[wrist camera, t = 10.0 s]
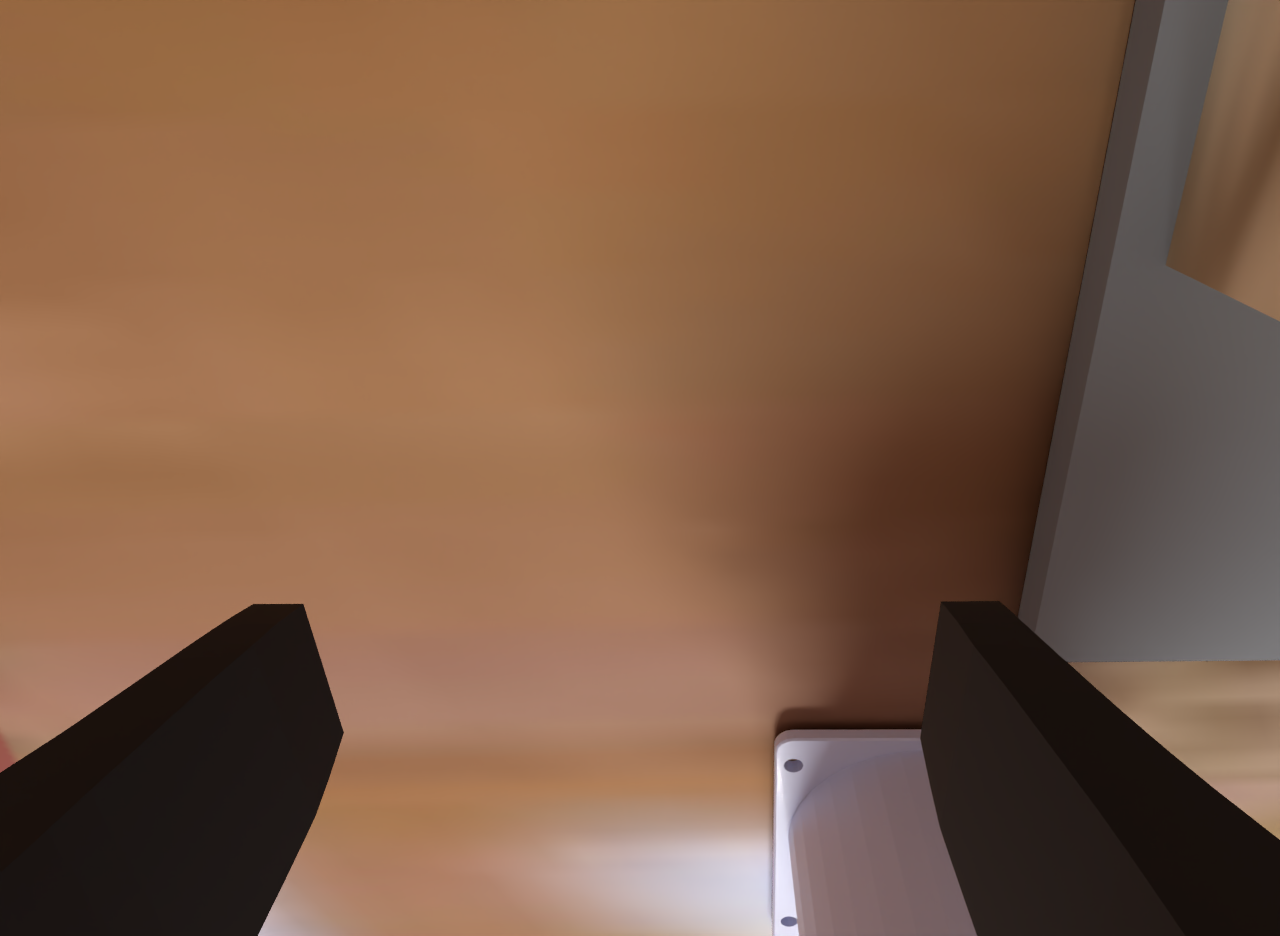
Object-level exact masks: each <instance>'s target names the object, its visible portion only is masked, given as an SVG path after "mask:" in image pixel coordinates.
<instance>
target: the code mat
mask: <svg viewBox="0 0 1280 936" xmlns="http://www.w3.org/2000/svg"><path fill="white" fill-rule="evenodd" d="M1227 4H1228V0H1136V2H1135V7H1134V12H1133V17H1132V23H1131V28H1130V33H1129V38H1128V44H1127V49H1126V54H1125V59H1124V64H1123V70H1122V75H1121V80H1120V85H1119V91H1118V96H1117V101H1116V106H1115V112H1114V117H1113V122H1112V127H1111V133H1110V138H1109V143H1108V148H1107V153H1106V159H1105V164H1104V169H1103V174H1102V180H1101V185H1100V190H1099V195H1098V201H1097V206H1096V211H1095V216H1094V222H1093V227H1092V232H1091V237H1090V242H1089V248H1088V253H1087V258H1086V263H1085V269H1084V274H1083V279H1082V284H1081V290H1080V295H1079V300H1078V305H1077V311H1076V316H1075V321H1074V326H1073V331H1072V337H1071V342H1070V347H1069V352H1068V358H1067V363H1066V368H1065V373H1064V379H1063V384H1062V389H1061V394H1060V400H1059V405H1058V410H1057V415H1056V420H1055V426H1054V431H1053V436H1052V441H1051V447H1050V452H1049V457H1048V462H1047V468H1046V473H1045V478H1044V483H1043V489H1042V494H1041V499H1040V504H1039V509H1038V515H1037V520H1036V525H1035V530H1034V536H1033V541H1032V546H1031V551H1030V557H1029V562H1028V567H1027V572H1026V578H1025V583H1024V588H1023V593H1022V598H1021V604H1020V609H1019V614H1018V618H1019V619H1020V620H1021V621H1022V622H1023V623H1024V624H1025V625H1027V626H1028V627H1029V628H1030V629H1031V630H1032V631H1033V632H1034V633H1035V634H1036V635H1038V636H1039V637H1040V638H1041V639H1042V640H1043V641H1044V642H1045V643H1046V644H1047V645H1049V646H1050V647H1051V648H1052V649H1053V650H1054V651H1055V652H1056V653H1057V654H1058V655H1060V656H1061V657H1062V658H1063V659H1064V660H1065V661H1066V662H1142V661H1243V660H1280V321H1278V320H1276V319H1274V318H1272V317H1270V316H1268V315H1266V314H1264V313H1262V312H1260V311H1258V310H1255V309H1253V308H1251V307H1249V306H1247V305H1245V304H1243V303H1241V302H1239V301H1237V300H1235V299H1233V298H1231V297H1229V296H1227V295H1225V294H1223V293H1221V292H1219V291H1217V290H1215V289H1213V288H1211V287H1209V286H1207V285H1205V284H1203V283H1201V282H1199V281H1197V280H1195V279H1193V278H1190V277H1188V276H1186V275H1184V274H1182V273H1180V272H1178V271H1176V270H1174V269H1172V268H1170V267H1168V266H1166V261H1167V257H1168V253H1169V249H1170V245H1171V240H1172V236H1173V232H1174V228H1175V223H1176V219H1177V215H1178V211H1179V207H1180V202H1181V198H1182V194H1183V190H1184V186H1185V181H1186V177H1187V173H1188V169H1189V164H1190V160H1191V156H1192V152H1193V148H1194V143H1195V139H1196V135H1197V131H1198V127H1199V122H1200V118H1201V114H1202V110H1203V105H1204V101H1205V97H1206V93H1207V89H1208V84H1209V80H1210V76H1211V72H1212V68H1213V63H1214V59H1215V55H1216V51H1217V46H1218V42H1219V38H1220V34H1221V30H1222V25H1223V21H1224V17H1225V13H1226V9H1227Z"/></svg>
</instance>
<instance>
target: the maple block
mask: <svg viewBox="0 0 1280 936" xmlns="http://www.w3.org/2000/svg"><path fill="white" fill-rule="evenodd" d="M1166 266H1168V267H1170V268H1172V269H1174V270H1176V271H1178V272H1180V273H1182V274H1184V275H1186V276H1188V277H1190V278H1193V279H1195V280H1197V281H1199V282H1201V283H1203V284H1205V285H1207V286H1209V287H1211V288H1213V289H1215V290H1217V291H1219V292H1221V293H1223V294H1225V295H1227V296H1229V297H1231V298H1233V299H1235V300H1237V301H1239V302H1241V303H1243V304H1245V305H1247V306H1249V307H1251V308H1253V309H1255V310H1258V311H1260V312H1262V313H1264V314H1266V315H1268V316H1270V317H1272V318H1274V319H1276V320H1278V321H1280V0H1228V4H1227V9H1226V13H1225V17H1224V21H1223V25H1222V30H1221V34H1220V38H1219V42H1218V46H1217V51H1216V55H1215V59H1214V63H1213V68H1212V72H1211V76H1210V80H1209V84H1208V89H1207V93H1206V97H1205V101H1204V105H1203V110H1202V114H1201V118H1200V122H1199V127H1198V131H1197V135H1196V139H1195V143H1194V148H1193V152H1192V156H1191V160H1190V164H1189V169H1188V173H1187V177H1186V181H1185V186H1184V190H1183V194H1182V198H1181V202H1180V207H1179V211H1178V215H1177V219H1176V223H1175V228H1174V232H1173V236H1172V240H1171V245H1170V249H1169V253H1168V257H1167V261H1166Z"/></svg>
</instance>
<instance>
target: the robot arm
mask: <svg viewBox="0 0 1280 936" xmlns="http://www.w3.org/2000/svg"><path fill="white" fill-rule="evenodd" d="M343 733H344V732H343V729H342V726H341V722H340V719H339V716H338V713H337V710H336V707H335V703H334V700H333V697H332V694H331V691H330V687H329V684H328V681H327V678H326V675H325V672H324V668H323V665H322V662H321V659H320V656H319V652H318V649H317V646H316V643H315V640H314V637H313V633H312V630H311V627H310V624H309V621H308V618H307V614H306V611H305V608H304V605H303V604H253V605H251V606H249V607H248V608H246V609H244V610H243V611H241V612H239V613H238V614H236V615H234V616H233V617H231V618H230V619H228V620H226V621H225V622H223V623H222V624H220V625H219V626H217V627H216V628H214V629H213V630H211V631H210V632H208V633H207V634H205V635H204V636H202V637H201V638H199V639H198V640H196V641H195V642H193V643H192V644H190V645H189V646H188V647H186V648H185V649H183V650H182V651H180V652H179V653H177V654H176V655H174V656H173V657H172V658H170V659H169V660H167V661H166V662H164V663H163V664H161V665H160V666H159V667H157V668H156V669H154V670H153V671H151V672H150V673H148V674H147V675H146V676H144V677H143V678H141V679H140V680H138V681H137V682H135V683H134V684H133V685H131V686H130V687H128V688H127V689H125V690H124V691H122V692H121V693H119V694H118V695H117V696H115V697H114V698H112V699H111V700H109V701H108V702H106V703H105V704H103V705H102V706H101V707H99V708H98V709H96V710H95V711H93V712H92V713H90V714H89V715H87V716H86V717H84V718H83V719H82V720H80V721H79V722H77V723H76V724H74V725H73V726H71V727H70V728H68V729H67V730H65V731H64V732H62V733H61V734H59V735H58V736H56V737H55V738H53V739H52V740H50V741H49V742H47V743H46V744H44V745H42V746H41V747H39V748H38V749H36V750H35V751H33V752H32V753H30V754H28V755H27V756H25V757H24V758H22V759H21V760H19V761H18V762H16V763H15V764H13V765H11V766H10V767H8V768H7V769H5V770H4V771H2V772H1V773H0V936H258V934H259V932H260V930H261V928H262V926H263V924H264V922H265V920H266V918H267V916H268V913H269V911H270V909H271V907H272V905H273V903H274V901H275V899H276V897H277V895H278V893H279V891H280V889H281V887H282V885H283V883H284V881H285V879H286V877H287V875H288V873H289V871H290V868H291V866H292V864H293V862H294V860H295V858H296V856H297V854H298V852H299V850H300V848H301V846H302V844H303V841H304V839H305V837H306V835H307V833H308V831H309V829H310V827H311V824H312V822H313V820H314V818H315V816H316V813H317V810H318V807H319V805H320V802H321V799H322V796H323V794H324V791H325V788H326V785H327V782H328V780H329V777H330V774H331V770H332V767H333V764H334V761H335V758H336V755H337V752H338V749H339V746H340V743H341V739H342V736H343ZM790 759H797V760H795V761H788V760H790ZM772 935H773V936H1280V840H1279V839H1278V838H1277V837H1275V836H1274V835H1273V834H1271V833H1270V832H1269V831H1268V830H1266V829H1265V828H1264V827H1262V826H1261V825H1260V824H1259V823H1257V822H1256V821H1255V820H1254V819H1252V818H1251V817H1250V816H1248V815H1247V814H1246V813H1245V812H1243V811H1242V810H1241V809H1239V808H1238V807H1237V806H1236V805H1234V804H1233V803H1232V802H1231V801H1229V800H1228V799H1227V798H1225V797H1224V796H1223V795H1222V794H1220V793H1219V792H1218V791H1216V790H1215V789H1214V788H1213V787H1211V786H1210V785H1209V784H1208V783H1207V782H1205V781H1204V780H1203V779H1202V778H1200V777H1199V776H1198V775H1197V774H1196V773H1194V772H1193V771H1192V770H1191V769H1189V768H1188V767H1187V766H1186V765H1185V764H1183V763H1182V762H1181V761H1180V760H1179V759H1177V758H1176V757H1175V756H1174V755H1172V754H1171V753H1170V752H1169V751H1168V750H1167V749H1165V748H1164V747H1163V746H1162V745H1161V744H1159V743H1158V742H1157V741H1156V740H1155V739H1154V738H1152V737H1151V736H1150V735H1149V734H1148V733H1146V732H1145V731H1144V730H1143V729H1142V728H1141V727H1140V726H1138V725H1137V724H1136V723H1135V722H1134V721H1133V720H1131V719H1130V718H1129V717H1128V716H1127V715H1126V714H1124V713H1123V712H1122V711H1121V710H1120V709H1119V708H1118V707H1117V706H1115V705H1114V704H1113V703H1112V702H1111V701H1110V700H1109V699H1107V698H1106V697H1105V696H1104V695H1103V694H1102V693H1101V692H1099V691H1098V690H1097V689H1096V688H1095V687H1094V686H1093V685H1092V684H1091V683H1089V682H1088V681H1087V680H1086V679H1085V678H1084V677H1083V676H1082V675H1081V674H1079V673H1078V672H1077V671H1076V670H1075V669H1074V668H1073V667H1072V666H1071V665H1069V664H1068V663H1067V662H1066V661H1065V660H1064V659H1063V658H1062V657H1061V656H1060V655H1058V654H1057V653H1056V652H1055V651H1054V650H1053V649H1052V648H1051V647H1050V646H1049V645H1047V644H1046V643H1045V642H1044V641H1043V640H1042V639H1041V638H1040V637H1039V636H1038V635H1036V634H1035V633H1034V632H1033V631H1032V630H1031V629H1030V628H1029V627H1028V626H1027V625H1025V624H1024V623H1023V622H1022V621H1021V620H1020V619H1019V618H1018V617H1017V616H1015V615H1014V614H1013V613H1012V612H1011V611H1010V610H1009V609H1007V608H1006V607H1005V606H1004V605H1003V604H1002V603H1001V602H999V601H968V602H941V606H940V612H939V619H938V625H937V632H936V638H935V645H934V651H933V658H932V664H931V670H930V677H929V683H928V690H927V696H926V703H925V709H924V716H923V722H922V729H863V730H787V731H784V732H782V733H780V734H779V735H778V736H777V737H776V739H775V742H774V808H773V892H772Z"/></svg>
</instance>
